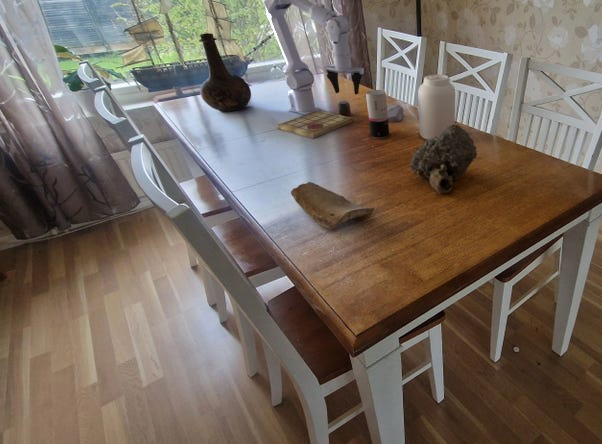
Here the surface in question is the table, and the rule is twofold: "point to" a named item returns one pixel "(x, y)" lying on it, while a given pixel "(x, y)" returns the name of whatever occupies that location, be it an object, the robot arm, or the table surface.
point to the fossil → (327, 205)
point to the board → (315, 123)
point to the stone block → (395, 113)
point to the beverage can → (377, 113)
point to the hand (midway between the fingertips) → (347, 93)
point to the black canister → (344, 108)
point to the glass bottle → (222, 81)
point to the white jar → (436, 105)
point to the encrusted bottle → (444, 158)
